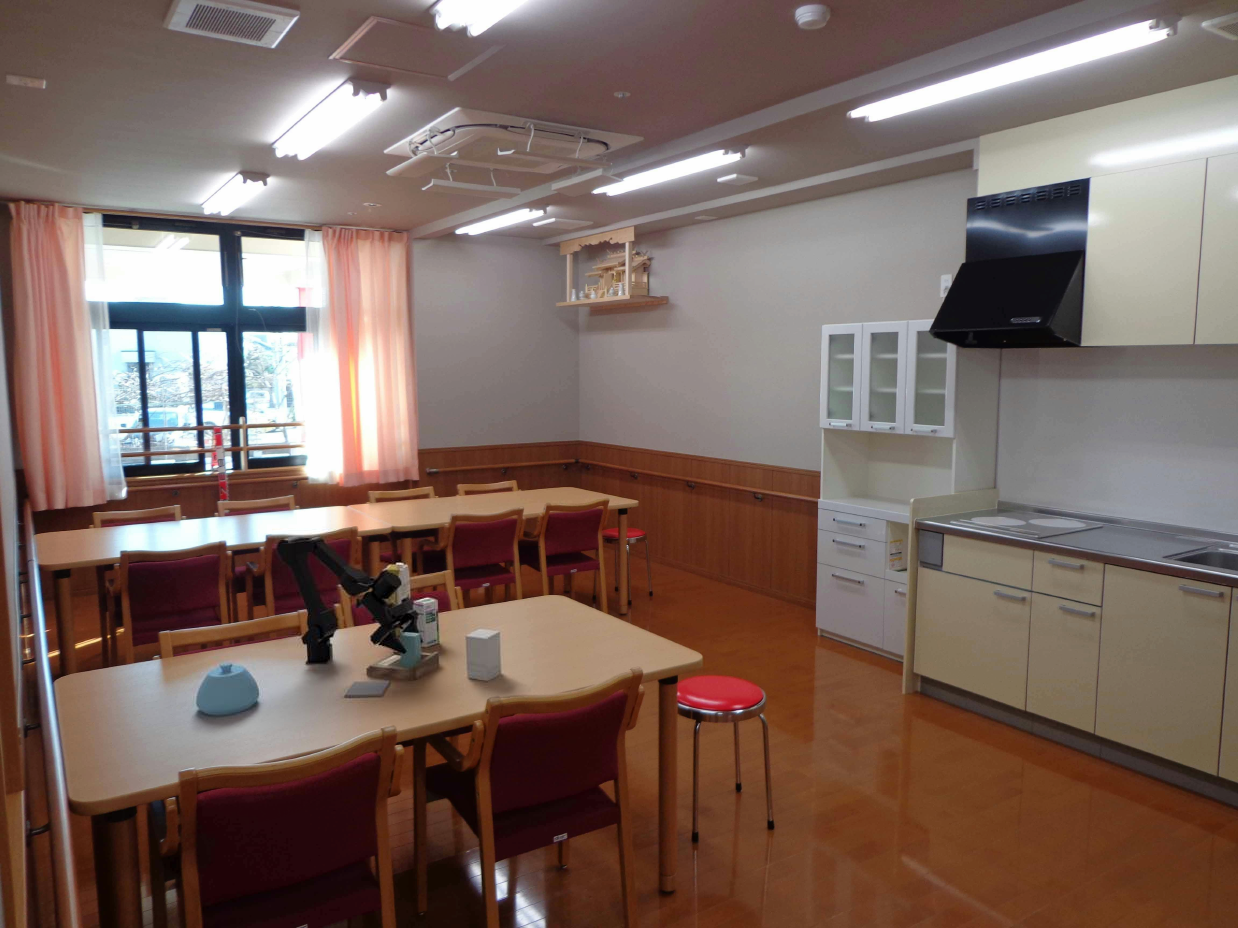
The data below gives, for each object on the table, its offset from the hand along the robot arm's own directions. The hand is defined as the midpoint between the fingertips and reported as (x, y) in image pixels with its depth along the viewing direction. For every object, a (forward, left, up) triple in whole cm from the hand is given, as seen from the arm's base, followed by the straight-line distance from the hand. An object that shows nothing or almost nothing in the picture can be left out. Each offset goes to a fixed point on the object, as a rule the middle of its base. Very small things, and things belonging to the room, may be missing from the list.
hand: (413, 647), depth 241 cm
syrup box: (-1, +25, -7) cm, 26 cm away
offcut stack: (-7, +2, -7) cm, 11 cm away
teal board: (-1, 0, -7) cm, 7 cm away
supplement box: (+21, -5, -7) cm, 23 cm away
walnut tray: (-3, +1, -7) cm, 8 cm away
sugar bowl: (-44, -23, -7) cm, 50 cm away
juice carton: (-13, +37, -7) cm, 40 cm away
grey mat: (-10, -14, -7) cm, 19 cm away
